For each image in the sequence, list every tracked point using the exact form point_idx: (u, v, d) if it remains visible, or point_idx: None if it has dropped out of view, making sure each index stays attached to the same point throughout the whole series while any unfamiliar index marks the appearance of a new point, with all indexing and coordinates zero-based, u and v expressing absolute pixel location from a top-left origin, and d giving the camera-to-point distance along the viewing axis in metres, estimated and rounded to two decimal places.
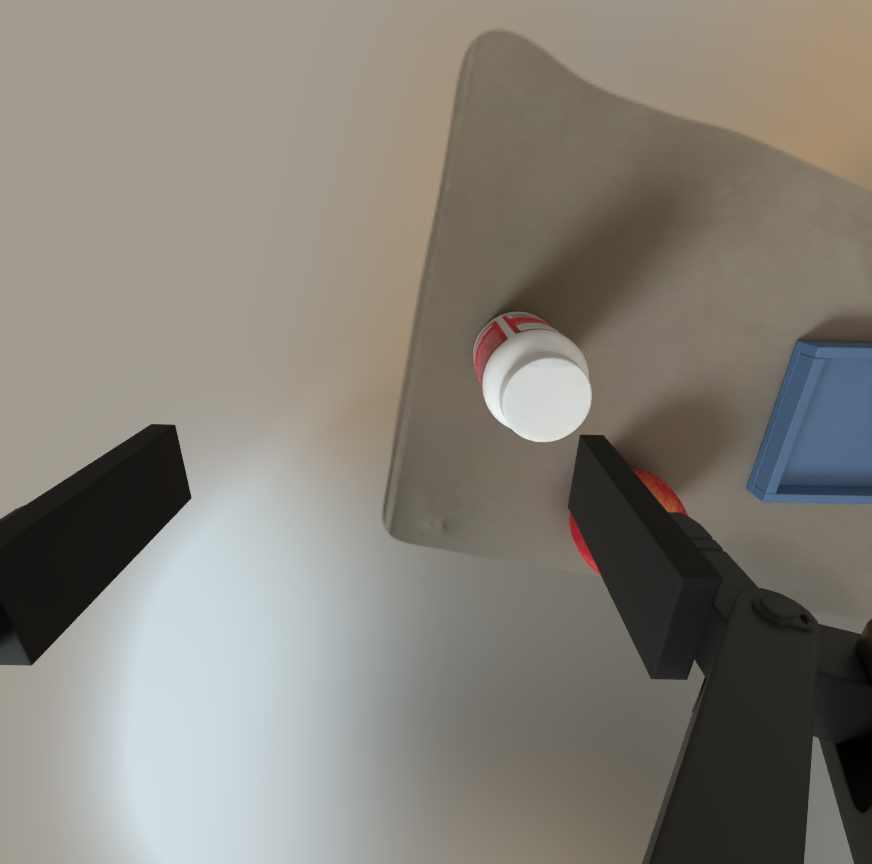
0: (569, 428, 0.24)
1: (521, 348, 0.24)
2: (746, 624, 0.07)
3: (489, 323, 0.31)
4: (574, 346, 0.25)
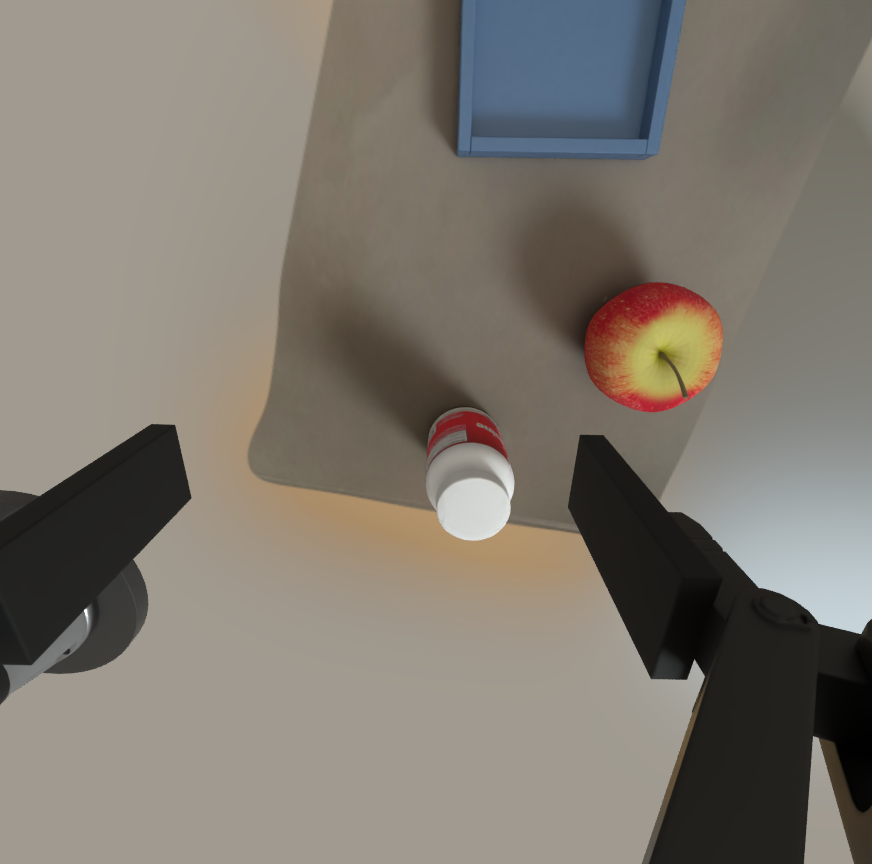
0: (498, 491, 0.27)
1: None
2: (746, 624, 0.07)
3: None
4: (437, 463, 0.30)
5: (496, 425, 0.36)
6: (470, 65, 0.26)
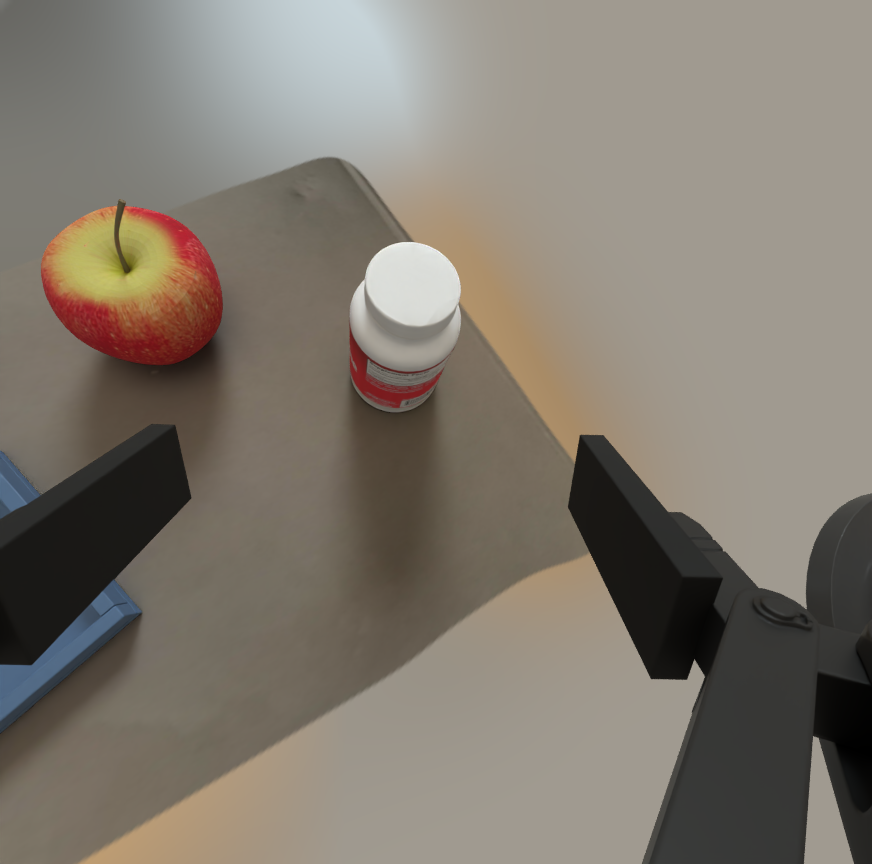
0: (371, 277, 0.21)
1: (452, 325, 0.24)
2: (746, 624, 0.07)
3: None
4: (412, 363, 0.23)
5: None
6: (35, 675, 0.22)
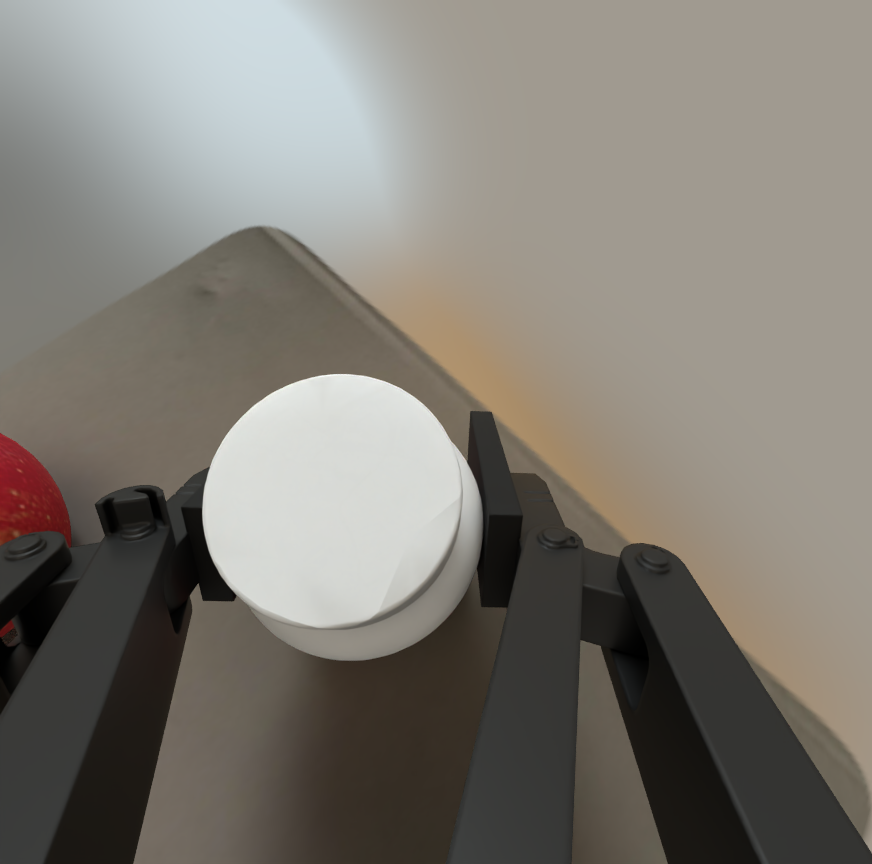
0: (218, 499, 0.08)
1: (463, 530, 0.10)
2: (533, 555, 0.09)
3: None
4: (383, 651, 0.09)
5: None
6: None
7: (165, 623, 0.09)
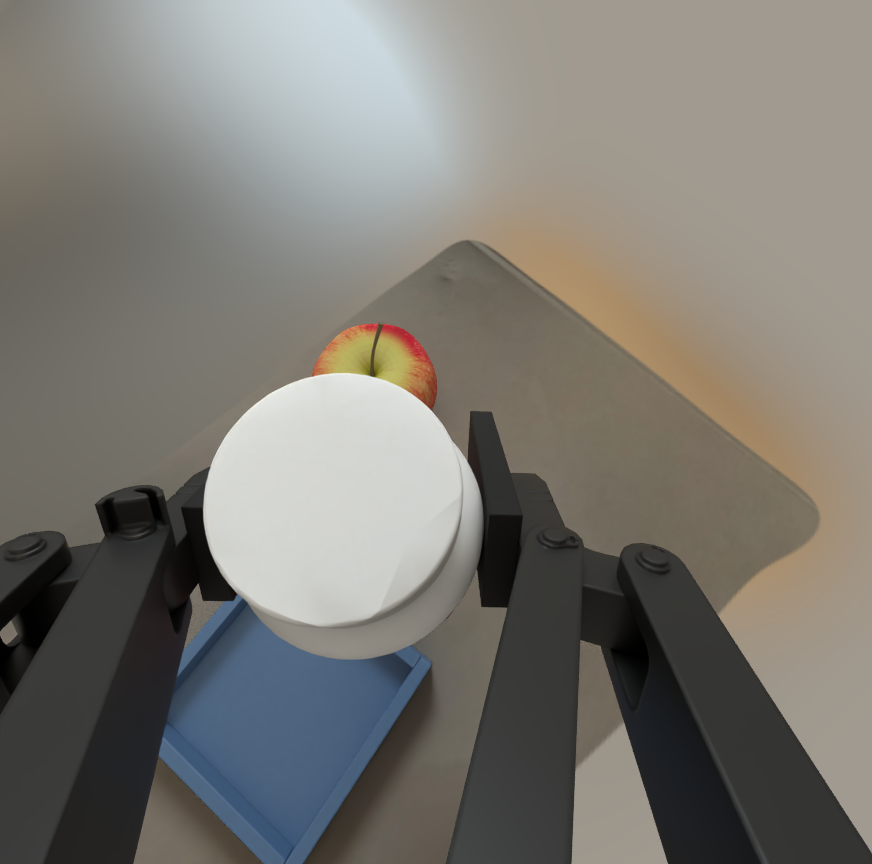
0: (219, 498, 0.08)
1: (464, 529, 0.10)
2: (533, 555, 0.09)
3: None
4: (384, 650, 0.09)
5: None
6: (378, 727, 0.26)
7: (165, 623, 0.09)
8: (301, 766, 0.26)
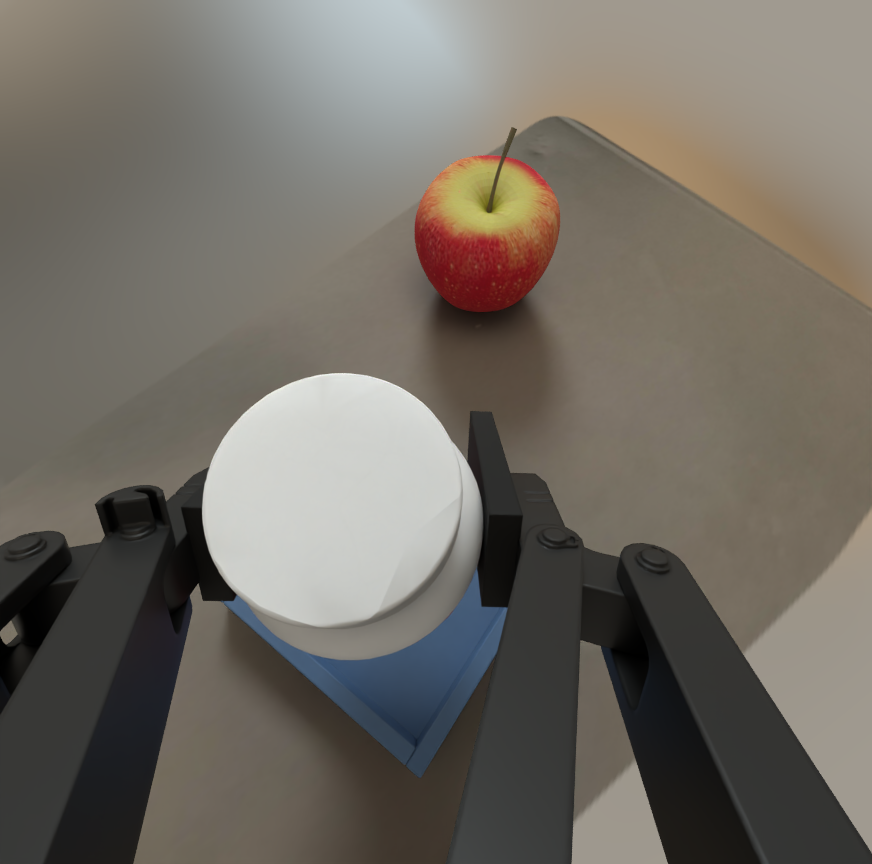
0: (218, 499, 0.08)
1: (463, 530, 0.10)
2: (533, 555, 0.09)
3: None
4: (383, 651, 0.09)
5: None
6: None
7: (165, 623, 0.09)
8: (418, 650, 0.22)
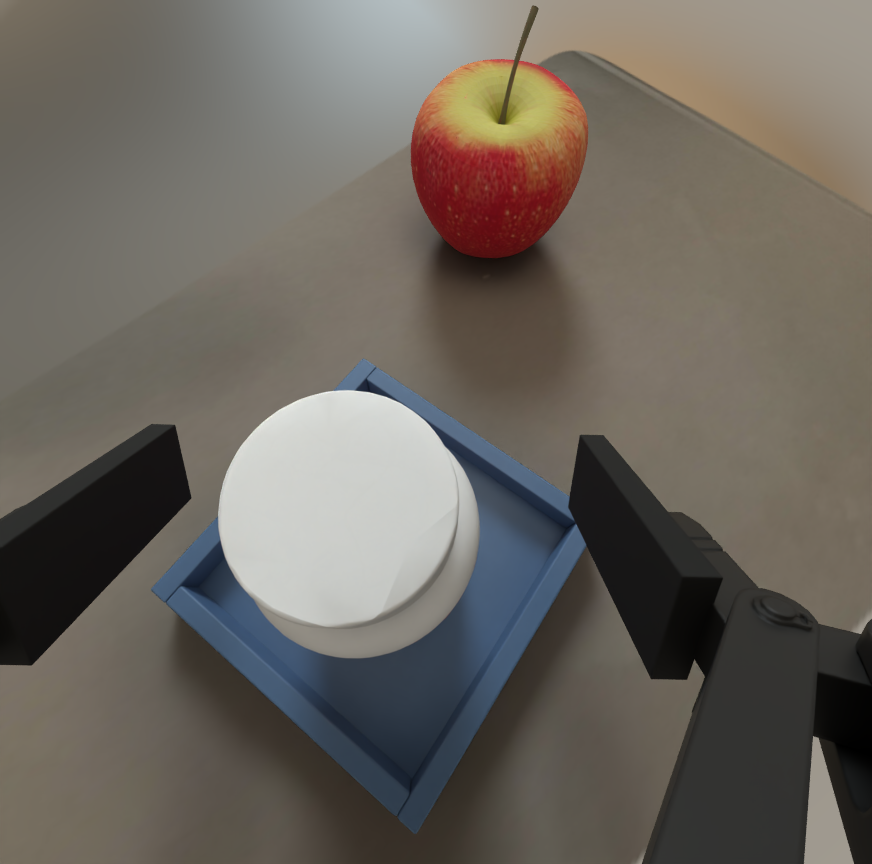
0: (233, 508, 0.09)
1: (460, 535, 0.11)
2: (746, 624, 0.07)
3: None
4: (385, 649, 0.10)
5: None
6: (534, 601, 0.17)
7: None
8: (414, 662, 0.17)
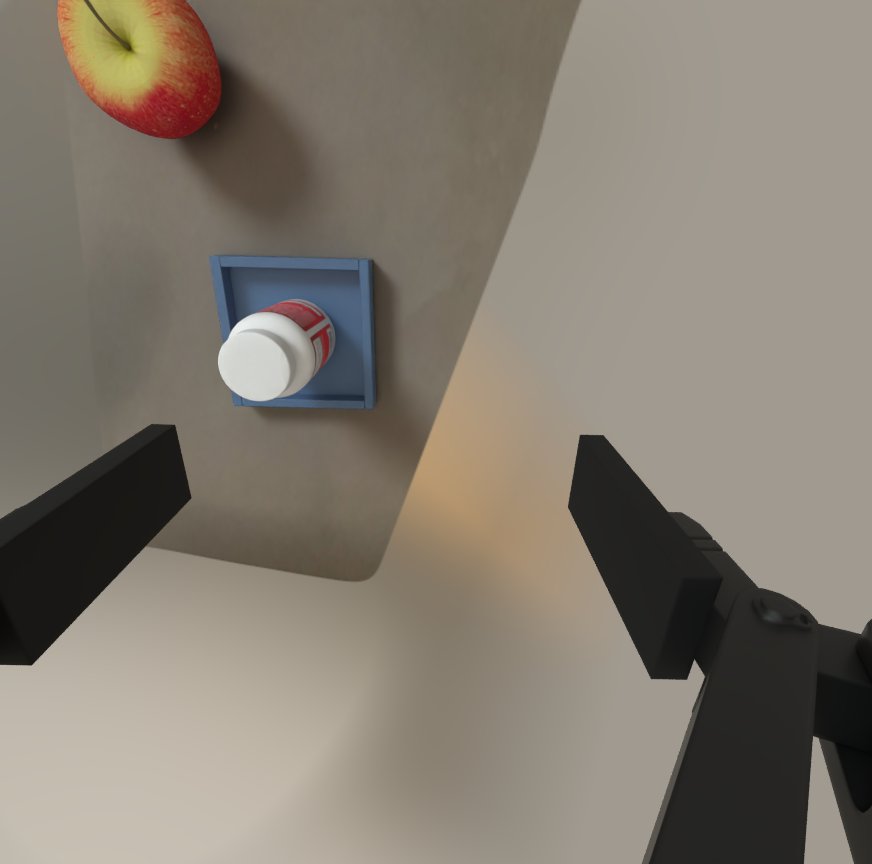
0: (234, 387, 0.29)
1: (297, 343, 0.31)
2: (746, 624, 0.07)
3: (323, 312, 0.37)
4: (304, 383, 0.32)
5: None
6: (363, 315, 0.37)
7: None
8: (341, 363, 0.40)
